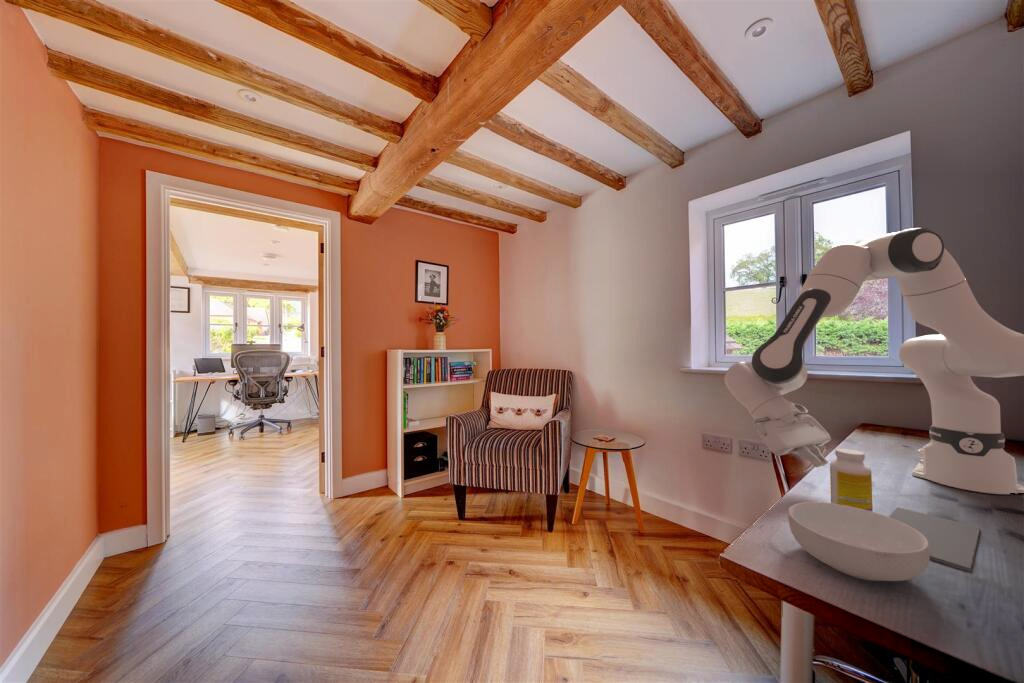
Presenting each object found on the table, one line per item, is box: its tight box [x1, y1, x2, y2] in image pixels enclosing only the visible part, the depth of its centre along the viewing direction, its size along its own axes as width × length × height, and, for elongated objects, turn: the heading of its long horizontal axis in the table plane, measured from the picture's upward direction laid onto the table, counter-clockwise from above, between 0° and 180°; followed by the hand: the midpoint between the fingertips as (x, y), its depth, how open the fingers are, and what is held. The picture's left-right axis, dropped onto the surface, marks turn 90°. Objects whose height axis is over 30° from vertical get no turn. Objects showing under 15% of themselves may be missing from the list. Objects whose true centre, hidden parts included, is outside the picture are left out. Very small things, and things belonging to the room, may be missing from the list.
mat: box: [889, 506, 981, 573], centre depth 68 cm, size 22×11×1 cm, turn 125°
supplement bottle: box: [829, 448, 874, 512], centre depth 79 cm, size 7×7×13 cm
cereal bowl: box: [787, 501, 930, 582], centre depth 59 cm, size 17×17×7 cm
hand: (822, 465), depth 83 cm, fingers closed
